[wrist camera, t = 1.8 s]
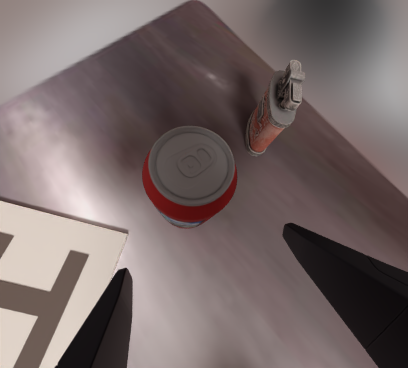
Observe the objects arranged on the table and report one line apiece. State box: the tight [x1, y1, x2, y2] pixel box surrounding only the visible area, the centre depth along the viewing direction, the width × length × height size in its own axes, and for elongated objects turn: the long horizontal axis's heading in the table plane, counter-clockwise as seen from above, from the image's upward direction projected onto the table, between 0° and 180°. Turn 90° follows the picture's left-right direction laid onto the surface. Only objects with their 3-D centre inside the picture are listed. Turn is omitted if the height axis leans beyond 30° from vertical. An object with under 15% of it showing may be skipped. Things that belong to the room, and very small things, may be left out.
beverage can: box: [142, 126, 237, 228], centre depth 16 cm, size 7×7×12 cm
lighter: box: [246, 60, 305, 156], centre depth 22 cm, size 8×3×10 cm, turn 169°
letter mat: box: [0, 201, 128, 368], centre depth 16 cm, size 16×16×1 cm
